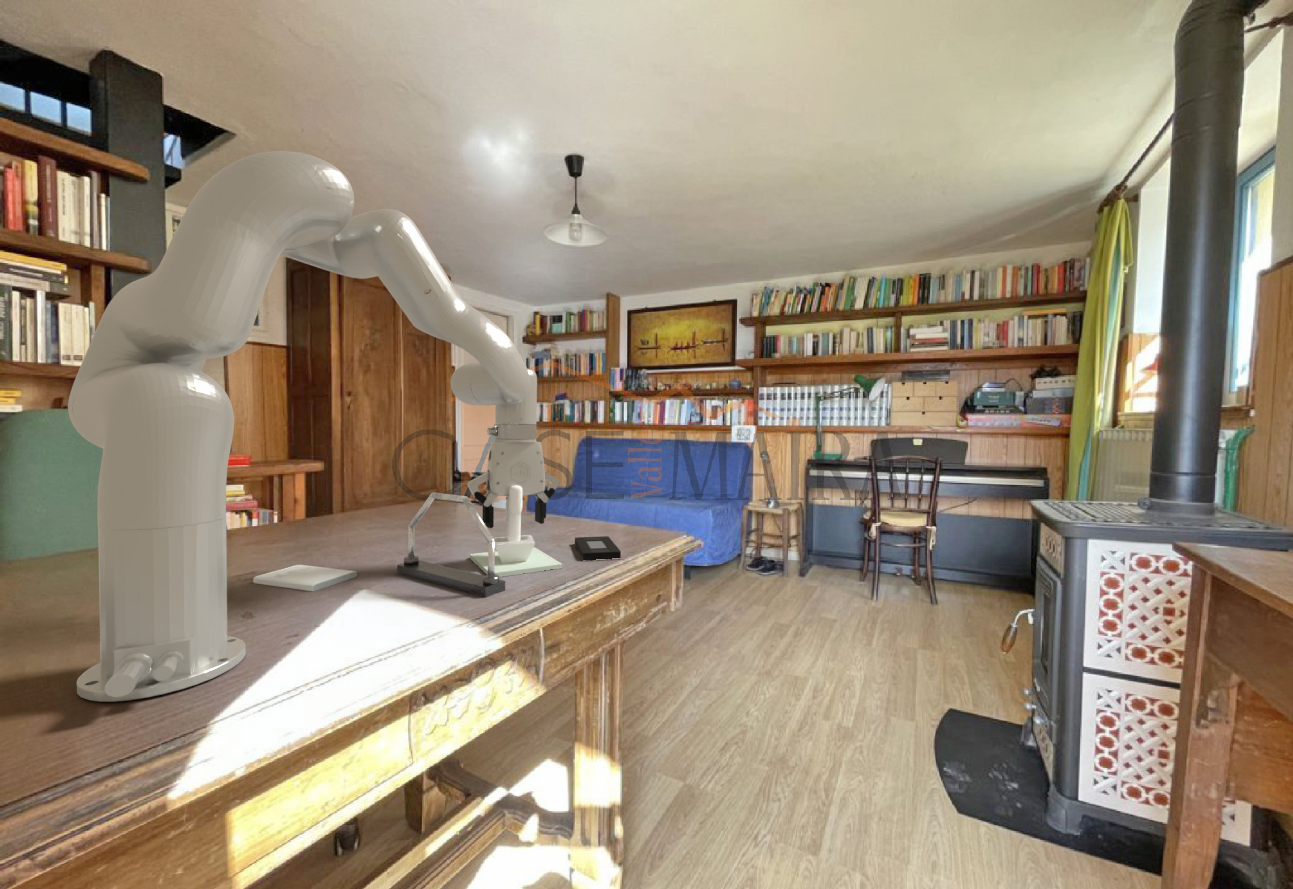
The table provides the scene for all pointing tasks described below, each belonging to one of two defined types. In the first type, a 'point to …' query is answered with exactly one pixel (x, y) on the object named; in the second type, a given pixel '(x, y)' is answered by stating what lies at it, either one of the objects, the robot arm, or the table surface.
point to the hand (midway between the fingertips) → (514, 524)
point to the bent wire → (446, 574)
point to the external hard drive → (305, 577)
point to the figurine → (514, 531)
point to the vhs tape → (597, 548)
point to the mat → (517, 563)
